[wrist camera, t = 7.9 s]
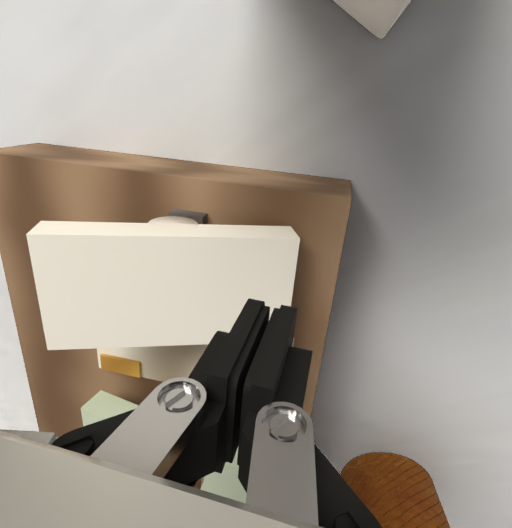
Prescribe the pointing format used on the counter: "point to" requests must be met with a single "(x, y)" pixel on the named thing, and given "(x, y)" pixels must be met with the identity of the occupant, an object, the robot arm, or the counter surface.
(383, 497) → the disposable coffee cup
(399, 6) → the milk carton
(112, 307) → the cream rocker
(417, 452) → the counter surface
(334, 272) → the switch unit
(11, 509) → the robot arm
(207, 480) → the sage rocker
